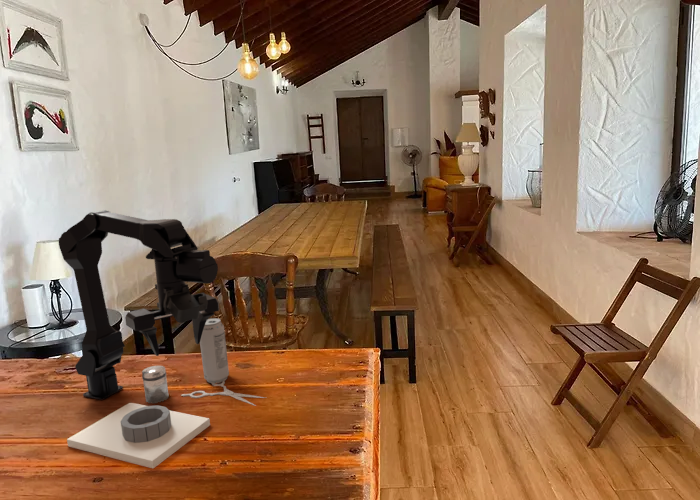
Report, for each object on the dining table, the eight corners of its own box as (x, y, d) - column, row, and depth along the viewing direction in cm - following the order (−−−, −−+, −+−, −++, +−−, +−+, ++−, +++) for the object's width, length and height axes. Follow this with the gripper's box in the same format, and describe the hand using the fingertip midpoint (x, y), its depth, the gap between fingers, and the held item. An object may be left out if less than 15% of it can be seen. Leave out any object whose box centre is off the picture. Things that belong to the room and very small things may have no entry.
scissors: (212, 377, 133) (277, 390, 124) (212, 380, 134) (277, 393, 124) (180, 395, 124) (247, 411, 115) (180, 398, 125) (247, 414, 115)
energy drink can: (214, 372, 137) (207, 316, 134) (234, 375, 134) (228, 318, 131) (199, 382, 131) (192, 324, 128) (220, 385, 129) (213, 326, 126)
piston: (140, 401, 123) (136, 373, 121) (156, 391, 127) (153, 364, 126) (157, 405, 121) (153, 376, 119) (173, 394, 125) (170, 366, 124)
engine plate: (68, 446, 105) (64, 425, 104) (130, 408, 119) (128, 389, 119) (153, 468, 96) (150, 445, 95) (210, 425, 110) (207, 404, 110)
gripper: (141, 296, 101) (149, 373, 104) (229, 277, 113) (234, 347, 116) (120, 286, 109) (129, 357, 112) (204, 269, 121) (210, 334, 125)
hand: (177, 349), depth 116 cm, fingers open, 9 cm apart
